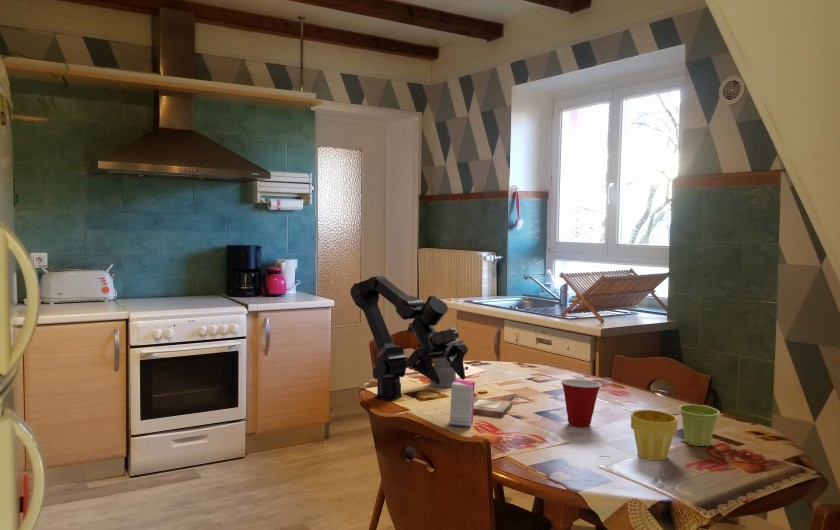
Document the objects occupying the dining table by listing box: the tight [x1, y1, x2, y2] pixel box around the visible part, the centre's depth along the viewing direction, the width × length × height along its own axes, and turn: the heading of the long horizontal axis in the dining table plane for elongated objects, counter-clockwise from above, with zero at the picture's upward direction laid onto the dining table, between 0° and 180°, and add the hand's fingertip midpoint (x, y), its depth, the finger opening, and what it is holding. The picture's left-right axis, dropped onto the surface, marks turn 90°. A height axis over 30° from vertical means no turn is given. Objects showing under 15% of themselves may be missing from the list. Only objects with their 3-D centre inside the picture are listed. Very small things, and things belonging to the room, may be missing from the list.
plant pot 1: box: [630, 409, 679, 461], centre depth 159 cm, size 10×10×10 cm
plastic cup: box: [560, 378, 602, 428], centre depth 182 cm, size 11×11×12 cm
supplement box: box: [449, 379, 476, 429], centre depth 180 cm, size 6×6×12 cm
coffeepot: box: [418, 338, 465, 389], centre depth 223 cm, size 15×9×18 cm, turn 103°
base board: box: [473, 396, 513, 418], centre depth 195 cm, size 12×12×2 cm
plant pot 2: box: [678, 404, 721, 447], centre depth 169 cm, size 9×9×9 cm
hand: (451, 381), depth 183 cm, fingers open, 9 cm apart
